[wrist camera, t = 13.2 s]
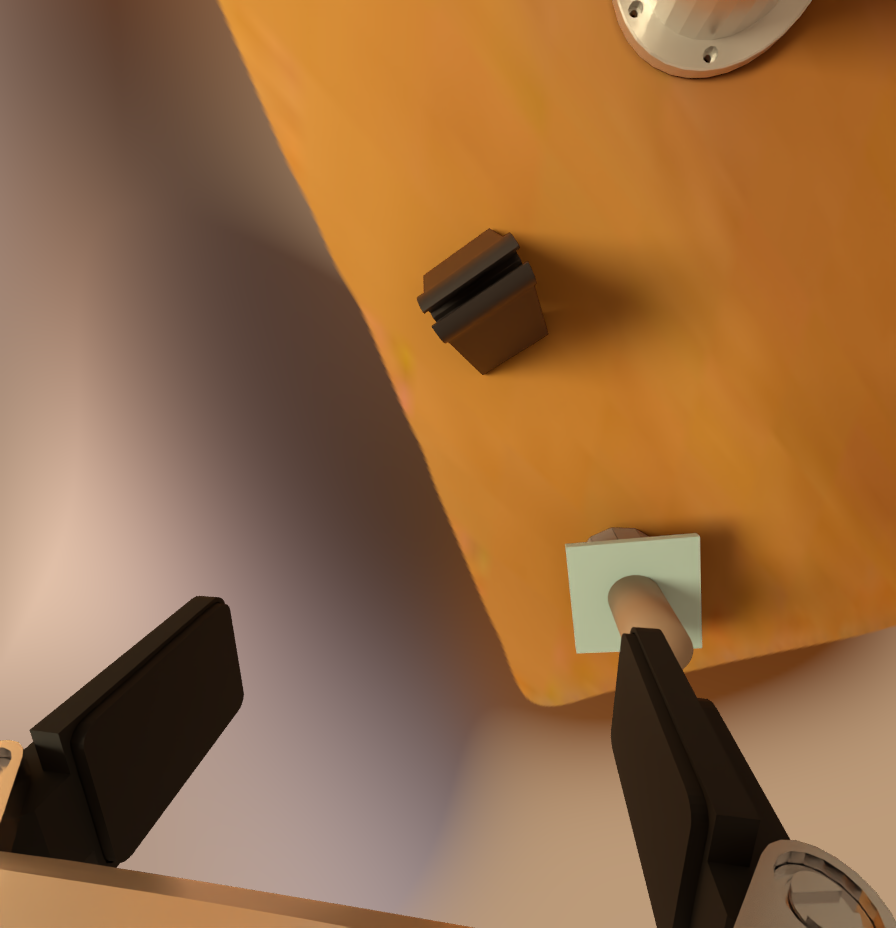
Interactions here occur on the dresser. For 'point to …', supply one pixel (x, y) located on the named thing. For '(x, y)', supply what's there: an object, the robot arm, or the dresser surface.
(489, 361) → the phone stand
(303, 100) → the dresser surface
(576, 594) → the lid
